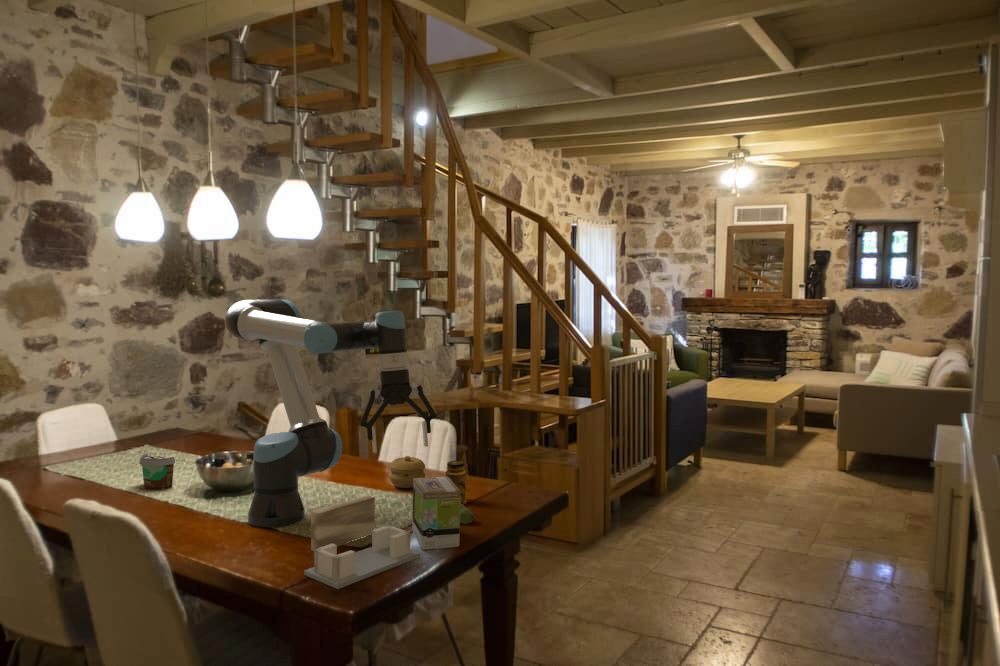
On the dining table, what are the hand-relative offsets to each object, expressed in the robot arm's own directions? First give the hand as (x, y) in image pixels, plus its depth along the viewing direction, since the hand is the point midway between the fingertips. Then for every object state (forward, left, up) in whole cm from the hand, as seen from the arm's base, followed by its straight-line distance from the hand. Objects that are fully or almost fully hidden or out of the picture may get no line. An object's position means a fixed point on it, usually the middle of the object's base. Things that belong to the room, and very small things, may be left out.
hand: (400, 449), depth 198 cm
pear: (+5, +17, -23) cm, 29 cm away
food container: (-88, -24, -23) cm, 94 cm away
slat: (-5, -15, -22) cm, 27 cm away
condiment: (-8, +29, -23) cm, 38 cm away
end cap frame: (+11, -22, -22) cm, 33 cm away
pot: (-30, +31, -23) cm, 49 cm away
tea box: (+11, +2, -23) cm, 25 cm away
